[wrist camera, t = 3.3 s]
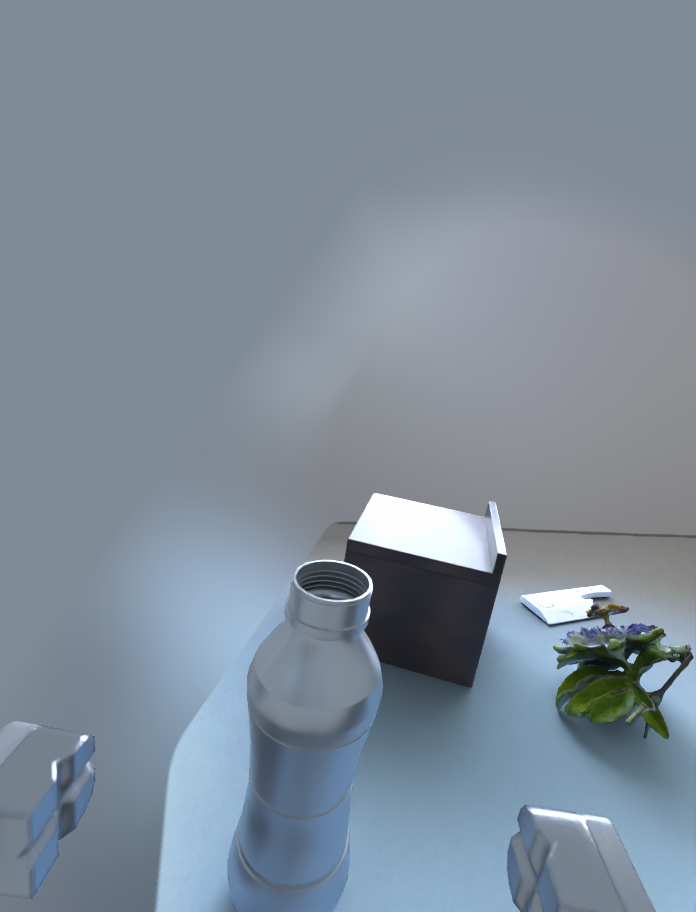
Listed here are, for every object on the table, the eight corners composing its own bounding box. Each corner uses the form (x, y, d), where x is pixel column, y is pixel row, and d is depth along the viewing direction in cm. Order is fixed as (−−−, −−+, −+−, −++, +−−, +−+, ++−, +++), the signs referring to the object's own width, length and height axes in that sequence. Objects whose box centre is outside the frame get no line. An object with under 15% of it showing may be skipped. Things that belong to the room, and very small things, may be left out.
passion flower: (569, 717, 50) (625, 621, 52) (675, 796, 40) (739, 674, 42) (509, 674, 46) (572, 570, 48) (610, 751, 36) (685, 617, 38)
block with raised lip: (330, 647, 47) (351, 519, 43) (358, 579, 60) (376, 477, 57) (471, 687, 45) (507, 555, 41) (469, 608, 58) (495, 502, 54)
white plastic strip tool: (631, 611, 63) (634, 604, 63) (548, 625, 57) (550, 617, 56) (599, 589, 67) (602, 583, 67) (518, 600, 61) (520, 593, 61)
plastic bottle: (364, 920, 26) (436, 605, 21) (245, 997, 22) (295, 640, 17) (311, 813, 31) (358, 538, 26) (208, 862, 28) (237, 554, 22)
